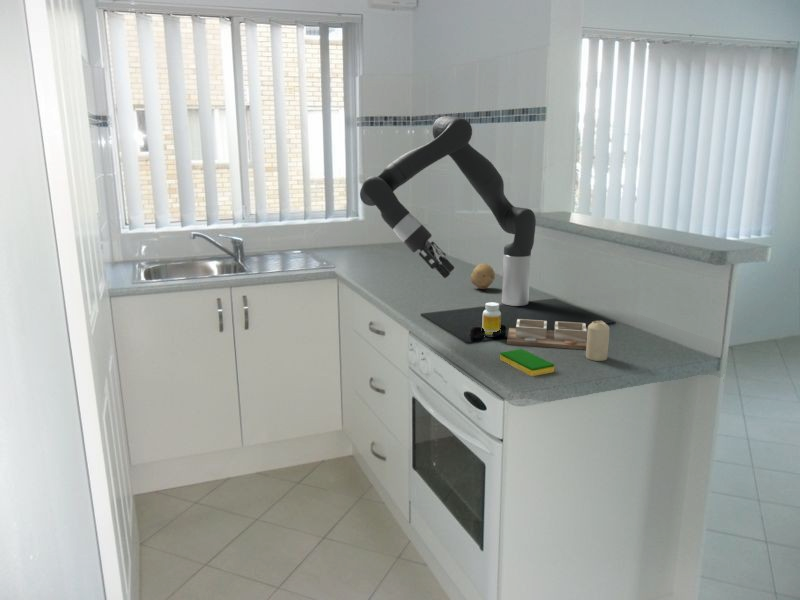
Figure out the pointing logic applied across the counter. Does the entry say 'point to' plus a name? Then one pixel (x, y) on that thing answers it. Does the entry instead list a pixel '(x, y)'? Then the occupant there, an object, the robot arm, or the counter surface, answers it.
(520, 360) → the dish sponge
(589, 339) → the candle
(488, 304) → the supplement bottle
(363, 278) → the counter surface
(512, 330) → the socket board
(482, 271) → the potato
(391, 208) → the robot arm
